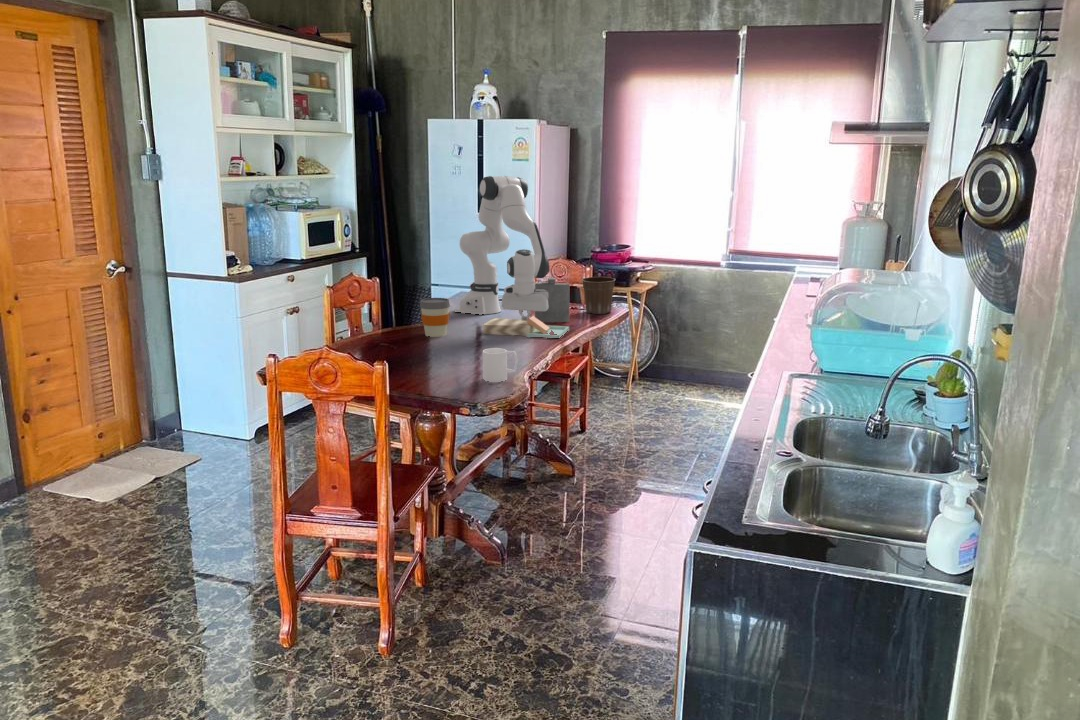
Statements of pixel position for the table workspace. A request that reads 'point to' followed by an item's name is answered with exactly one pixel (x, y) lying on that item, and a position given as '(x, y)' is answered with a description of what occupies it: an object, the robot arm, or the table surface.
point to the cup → (496, 364)
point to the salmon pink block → (538, 324)
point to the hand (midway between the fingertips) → (525, 320)
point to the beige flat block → (507, 327)
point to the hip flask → (555, 301)
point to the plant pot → (598, 294)
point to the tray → (556, 329)
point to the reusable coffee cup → (435, 316)
